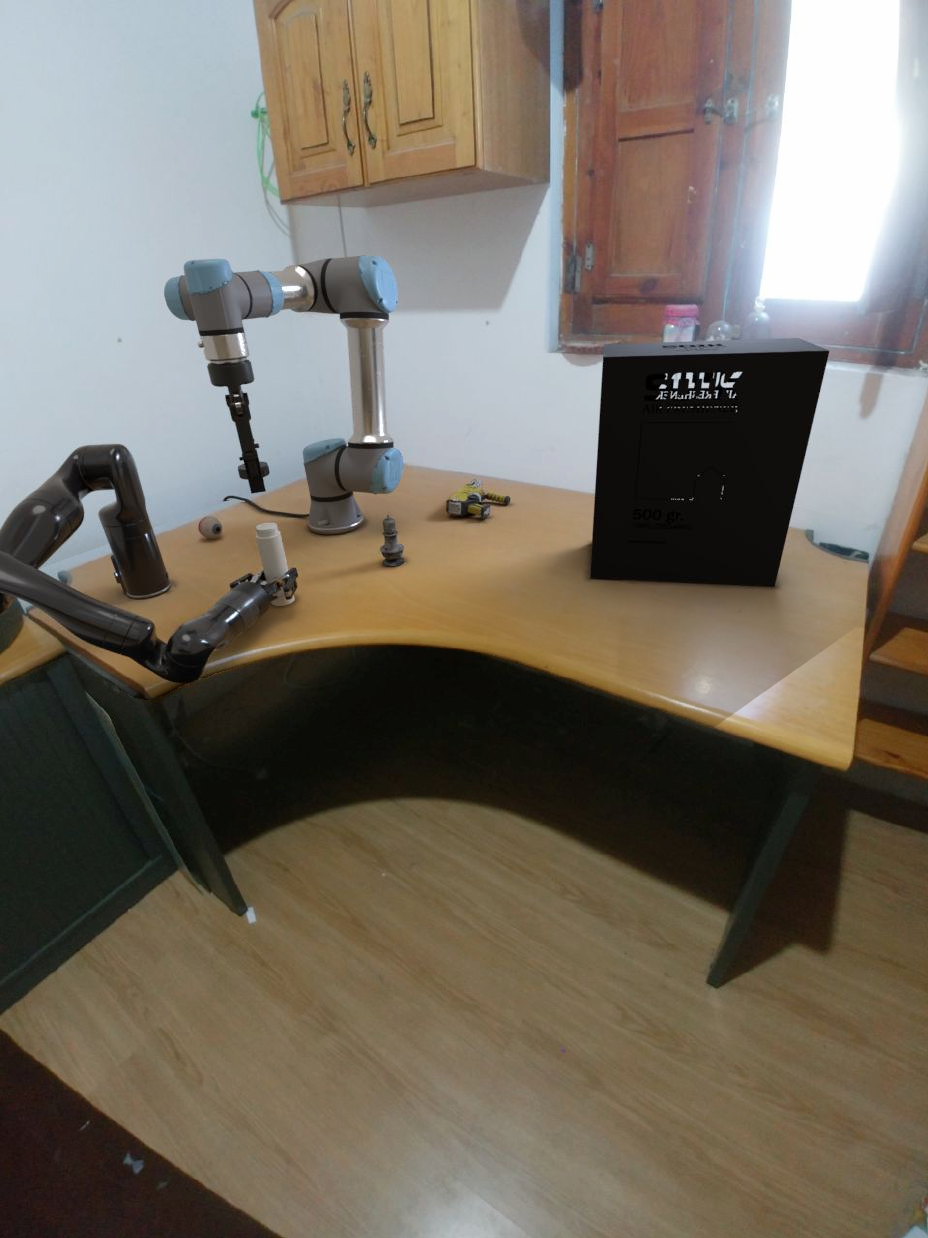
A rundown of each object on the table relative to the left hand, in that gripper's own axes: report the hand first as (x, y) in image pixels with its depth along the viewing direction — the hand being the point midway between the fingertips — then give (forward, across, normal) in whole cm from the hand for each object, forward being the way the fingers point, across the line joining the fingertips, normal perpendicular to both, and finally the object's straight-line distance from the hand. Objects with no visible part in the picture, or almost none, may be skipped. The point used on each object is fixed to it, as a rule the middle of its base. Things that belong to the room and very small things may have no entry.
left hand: (283, 570), depth 130 cm
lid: (-3, 0, +23) cm, 24 cm away
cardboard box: (+28, +83, -6) cm, 88 cm away
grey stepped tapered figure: (+20, +17, -6) cm, 27 cm away
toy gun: (+61, +30, -6) cm, 68 cm away
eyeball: (+28, -38, -6) cm, 48 cm away
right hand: (-2, 0, +19) cm, 20 cm away
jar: (-3, 0, -6) cm, 7 cm away
